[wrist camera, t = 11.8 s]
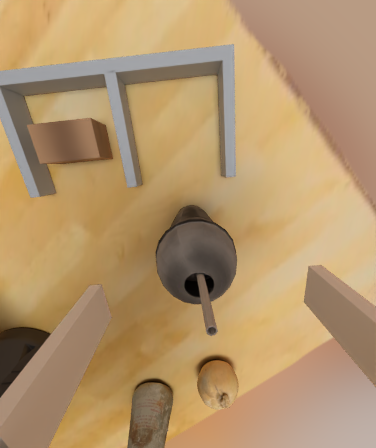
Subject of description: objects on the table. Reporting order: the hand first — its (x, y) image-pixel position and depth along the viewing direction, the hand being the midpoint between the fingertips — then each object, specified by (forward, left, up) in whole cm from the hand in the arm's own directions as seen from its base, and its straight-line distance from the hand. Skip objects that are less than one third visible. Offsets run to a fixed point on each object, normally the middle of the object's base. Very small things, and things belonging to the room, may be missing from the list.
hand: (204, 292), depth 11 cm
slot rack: (-7, +12, -16) cm, 21 cm away
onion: (+2, -33, -17) cm, 37 cm away
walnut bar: (-14, +12, -17) cm, 24 cm away
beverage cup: (0, 0, -17) cm, 17 cm away
